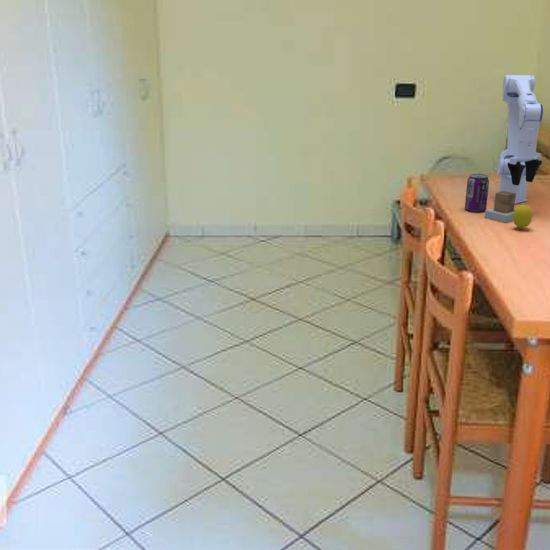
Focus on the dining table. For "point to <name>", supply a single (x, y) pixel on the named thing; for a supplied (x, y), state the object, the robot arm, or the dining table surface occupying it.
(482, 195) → the beverage can
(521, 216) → the lemon
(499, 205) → the walnut block
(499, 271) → the dining table surface
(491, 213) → the grey base
